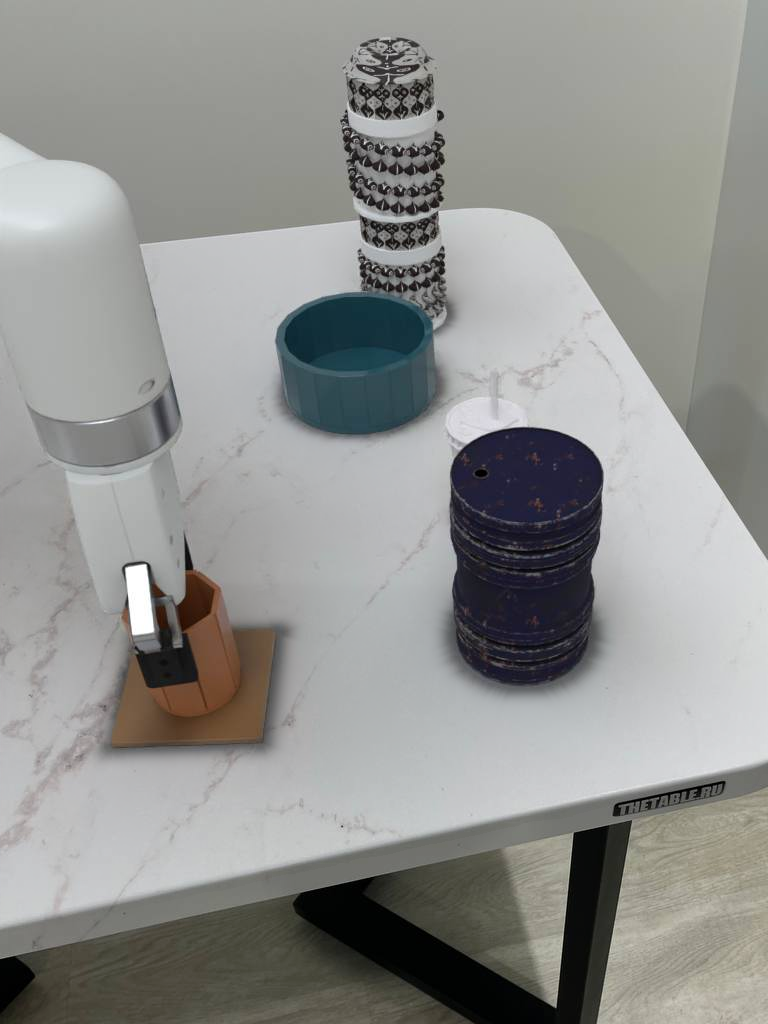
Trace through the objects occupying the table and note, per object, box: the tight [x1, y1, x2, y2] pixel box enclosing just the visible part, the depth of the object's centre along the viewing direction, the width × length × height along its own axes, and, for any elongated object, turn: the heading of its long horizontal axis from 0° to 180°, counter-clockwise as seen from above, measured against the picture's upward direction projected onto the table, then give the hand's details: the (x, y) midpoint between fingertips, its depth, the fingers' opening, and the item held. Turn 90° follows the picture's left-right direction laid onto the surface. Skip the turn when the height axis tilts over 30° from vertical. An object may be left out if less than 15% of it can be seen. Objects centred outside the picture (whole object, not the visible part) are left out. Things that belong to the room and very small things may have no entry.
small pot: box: [121, 569, 241, 717], centre depth 70 cm, size 6×6×8 cm
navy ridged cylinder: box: [448, 426, 605, 686], centre depth 71 cm, size 10×10×15 cm
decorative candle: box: [340, 36, 448, 332], centre depth 98 cm, size 9×9×25 cm
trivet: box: [109, 628, 277, 749], centre depth 73 cm, size 10×10×1 cm
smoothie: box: [443, 367, 530, 460], centre depth 80 cm, size 6×6×14 cm
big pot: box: [274, 291, 437, 435], centre depth 96 cm, size 14×14×6 cm
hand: (172, 626), depth 69 cm, fingers open, 9 cm apart
